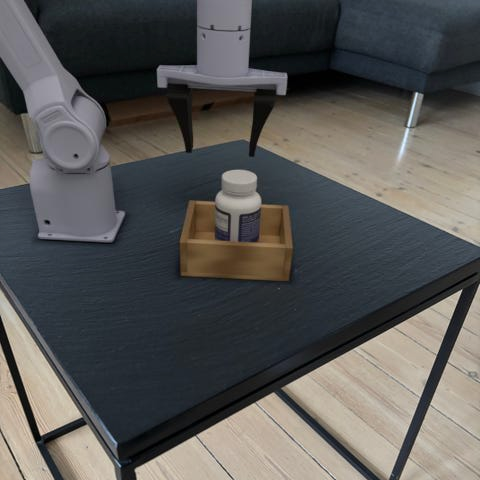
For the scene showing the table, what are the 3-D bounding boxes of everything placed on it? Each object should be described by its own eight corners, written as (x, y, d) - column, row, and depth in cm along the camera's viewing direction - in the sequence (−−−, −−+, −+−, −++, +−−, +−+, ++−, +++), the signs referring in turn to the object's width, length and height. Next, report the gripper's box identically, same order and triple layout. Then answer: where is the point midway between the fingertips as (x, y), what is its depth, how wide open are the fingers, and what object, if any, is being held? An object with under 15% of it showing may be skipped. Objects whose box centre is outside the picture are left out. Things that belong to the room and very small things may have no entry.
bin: (180, 275, 60) (179, 241, 57) (189, 231, 68) (189, 200, 65) (288, 281, 60) (293, 248, 57) (284, 236, 68) (288, 205, 65)
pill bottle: (259, 242, 66) (265, 168, 60) (256, 265, 62) (262, 188, 55) (217, 238, 66) (218, 164, 60) (211, 260, 62) (212, 183, 56)
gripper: (290, 24, 58) (278, 144, 67) (161, 16, 58) (166, 137, 67) (292, 36, 53) (279, 164, 61) (151, 27, 53) (157, 157, 61)
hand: (220, 152), depth 63 cm, fingers open, 7 cm apart
